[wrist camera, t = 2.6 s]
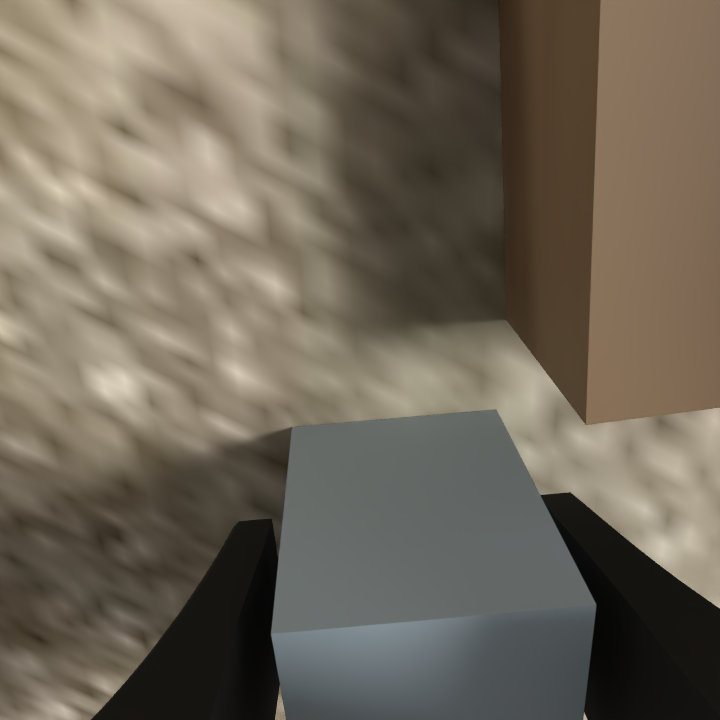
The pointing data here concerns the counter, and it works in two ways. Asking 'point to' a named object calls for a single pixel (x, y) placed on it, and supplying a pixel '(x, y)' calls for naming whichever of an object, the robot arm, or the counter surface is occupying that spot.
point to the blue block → (424, 578)
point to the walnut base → (614, 199)
